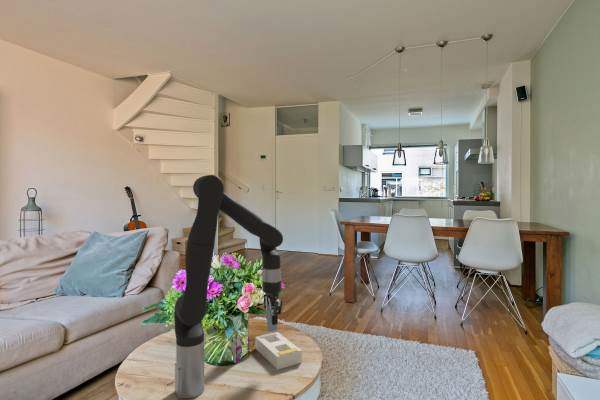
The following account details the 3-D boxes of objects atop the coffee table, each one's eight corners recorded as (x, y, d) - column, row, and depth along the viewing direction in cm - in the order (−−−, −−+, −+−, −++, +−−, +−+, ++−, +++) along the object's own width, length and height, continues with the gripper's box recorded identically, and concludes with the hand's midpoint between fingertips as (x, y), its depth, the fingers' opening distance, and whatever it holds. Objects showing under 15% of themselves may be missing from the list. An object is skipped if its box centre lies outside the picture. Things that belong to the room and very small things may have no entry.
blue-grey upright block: (269, 332, 130) (269, 306, 130) (265, 328, 134) (265, 303, 134) (279, 330, 132) (278, 304, 132) (274, 326, 136) (274, 301, 136)
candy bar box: (239, 350, 148) (239, 313, 148) (249, 352, 146) (249, 314, 146) (225, 362, 137) (225, 321, 137) (236, 364, 136) (236, 323, 136)
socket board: (277, 369, 131) (277, 356, 131) (255, 348, 150) (255, 336, 150) (301, 362, 137) (301, 349, 137) (277, 342, 156) (277, 331, 156)
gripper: (256, 276, 137) (256, 318, 137) (270, 284, 125) (271, 330, 125) (272, 274, 141) (273, 315, 141) (288, 281, 129) (289, 326, 129)
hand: (272, 322), depth 133 cm, fingers closed on blue-grey upright block, 4 cm apart
